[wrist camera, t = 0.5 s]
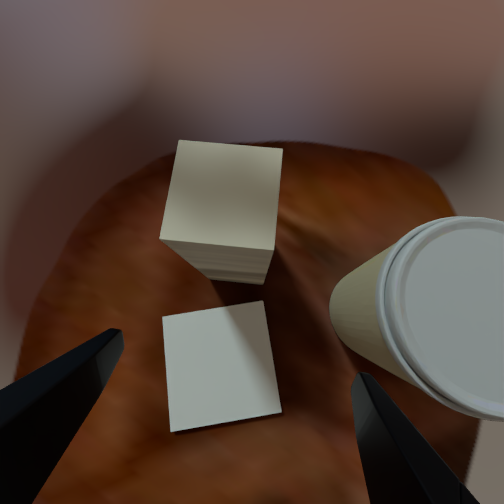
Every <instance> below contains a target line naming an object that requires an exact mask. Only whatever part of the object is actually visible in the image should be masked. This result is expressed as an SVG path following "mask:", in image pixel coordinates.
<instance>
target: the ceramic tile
mask: <svg viewBox="0 0 504 504" xmlns="http://www.w3.org/2000/svg"><path fill="white" fill-rule="evenodd" d="M162 318H163V331H164V345H165V359H166V373H167V387H168V401H169V415H170V429H171V432H173V431H179V430H185V429H190V428H196V427H201V426H207V425H213V424H218V423H224V422H230V421H235V420H241V419H247V418H252V417H258V416H264V415H269V414H275V413H280V412H282V411H281V405H280V399H279V393H278V387H277V381H276V375H275V369H274V363H273V357H272V351H271V345H270V339H269V333H268V327H267V321H266V315H265V309H264V303H263V301H257V302H251V303H245V304H239V305H232V306H226V307H220V308H214V309H208V310H202V311H196V312H189V313H183V314H177V315H171V316H165V317H162Z"/></svg>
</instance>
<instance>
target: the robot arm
mask: <svg viewBox="0 0 504 504" xmlns="http://www.w3.org/2000/svg"><path fill="white" fill-rule="evenodd" d="M123 350H124V339H123V333H122V331H121V330H120V329H114V328H110V329H108V330H106V331H104V332H103V333H101V334H99V335H97V336H95V337H94V338H92V339H90V340H88V341H86V342H85V343H83V344H81V345H79V346H78V347H76V348H74V349H72V350H70V351H69V352H67V353H65V354H63V355H62V356H60V357H58V358H56V359H54V360H53V361H51V362H49V363H47V364H46V365H44V366H42V367H40V368H38V369H37V370H35V371H33V372H31V373H29V374H28V375H26V376H24V377H22V378H21V379H19V380H17V381H15V382H13V383H12V384H10V385H8V386H6V387H5V388H3V389H1V390H0V504H32V503H33V501H34V499H35V498H36V496H37V495H38V493H39V492H40V490H41V488H42V487H43V485H44V484H45V482H46V480H47V479H48V477H49V476H50V474H51V472H52V471H53V469H54V468H55V466H56V465H57V463H58V461H59V460H60V458H61V457H62V455H63V453H64V452H65V450H66V449H67V447H68V445H69V444H70V442H71V441H72V439H73V438H74V436H75V434H76V433H77V431H78V430H79V428H80V426H81V425H82V423H83V422H84V420H85V419H86V417H87V415H88V414H89V412H90V411H91V409H92V407H93V406H94V404H95V403H96V401H97V399H98V398H99V396H100V395H101V393H102V391H103V390H104V388H105V386H106V384H107V382H108V380H109V378H110V376H111V374H112V372H113V370H114V368H115V366H116V364H117V362H118V360H119V358H120V356H121V354H122V352H123ZM351 397H352V406H353V415H354V423H355V432H356V439H357V444H358V449H359V453H360V458H361V463H362V467H363V472H364V476H365V481H366V486H367V490H368V495H369V500H370V504H480V503H479V502H478V501H477V500H476V499H475V498H474V496H473V495H472V494H471V493H470V491H469V490H468V489H467V488H466V487H465V485H464V484H463V483H462V482H460V481H459V478H458V477H457V476H456V475H455V474H454V473H453V471H452V470H451V469H450V468H449V467H448V465H447V464H446V463H445V462H444V461H443V459H442V458H441V457H440V456H439V455H438V453H437V452H436V451H435V450H434V449H433V448H432V446H431V445H430V444H429V443H428V442H427V440H426V439H425V438H424V437H423V436H422V434H421V433H420V432H419V431H418V430H417V429H416V427H415V426H414V425H413V424H412V423H411V421H410V420H409V419H408V418H407V417H406V415H405V414H404V413H403V412H402V411H401V409H400V408H399V407H398V406H397V405H396V404H395V402H394V401H393V400H392V399H391V398H390V396H389V395H388V394H387V393H386V392H385V390H384V389H383V388H382V387H381V386H380V385H379V383H378V382H377V381H376V380H375V379H374V377H373V376H372V375H371V374H369V373H364V372H358V373H357V375H356V377H355V379H354V381H353V384H352V386H351Z"/></svg>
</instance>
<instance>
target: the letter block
mask: <svg viewBox="0 0 504 504" xmlns="http://www.w3.org/2000/svg"><path fill="white" fill-rule="evenodd" d="M282 151H283V149H278V148H266V147H254V146H243V145H231V144H220V143H208V142H196V141H185V140H179V143H178V148H177V153H176V158H175V163H174V168H173V173H172V178H171V183H170V188H169V193H168V198H167V203H166V208H165V213H164V218H163V223H162V228H161V233H160V238H159V239H160V240H161V241H162V242H164V243H165V244H166V245H167V246H169V247H170V248H171V249H172V250H174V251H175V252H176V253H178V254H179V255H180V256H181V257H183V258H184V259H185V260H186V261H188V262H189V263H190V264H191V265H193V266H194V267H195V268H196V269H198V270H199V271H200V272H201V273H203V274H204V275H205V276H206V277H208V278H209V279H212V280H222V281H231V282H241V283H251V284H260V285H263V284H264V280H265V277H266V274H267V271H268V268H269V264H270V261H271V258H272V255H273V252H274V244H275V232H276V221H277V209H278V197H279V186H280V174H281V163H282Z"/></svg>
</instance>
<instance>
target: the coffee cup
mask: <svg viewBox="0 0 504 504" xmlns="http://www.w3.org/2000/svg"><path fill="white" fill-rule="evenodd" d="M329 311H330V318H331V322H332V325H333V327H334V330H335V332H336V333H337V335H338V336H339V338H340V339H341V340H342V341H343V342H344V343H345V344H346V345H347V346H348V347H349V348H350V349H352V350H353V351H355V352H356V353H358V354H359V355H361V356H363V357H364V358H366V359H368V360H370V361H371V362H373V363H375V364H377V365H378V366H380V367H382V368H384V369H385V370H387V371H389V372H391V373H392V374H394V375H396V376H398V377H400V378H401V379H403V380H405V381H407V382H409V383H410V384H412V385H414V386H416V387H418V388H419V389H421V390H423V391H424V392H425V393H426V394H428V395H429V396H431V397H432V398H434V399H435V400H437V401H438V402H440V403H442V404H443V405H445V406H447V407H449V408H451V409H453V410H455V411H458V412H460V413H463V414H465V415H468V416H472V417H476V418H479V419H484V420H490V421H504V222H502V221H498V220H494V219H488V218H481V217H460V216H459V217H447V218H442V219H438V220H434V221H431V222H428V223H425V224H423V225H421V226H419V227H417V228H415V229H413V230H412V231H410V232H409V233H408V234H406V235H405V236H404V237H402V238H401V239H400V240H399V241H398V242H397V243H395V244H394V245H392V246H391V247H389V248H388V249H386V250H384V251H383V252H381V253H380V254H378V255H377V256H375V257H373V258H372V259H370V260H369V261H367V262H366V263H364V264H363V265H361V266H360V267H358V268H357V269H355V270H354V271H352V272H351V273H349V274H348V275H346V276H345V277H344V278H343V279H342V280H341V281H340V282H339V283H338V284H337V285H336V287H335V288H334V290H333V293H332V295H331V299H330V306H329Z"/></svg>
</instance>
